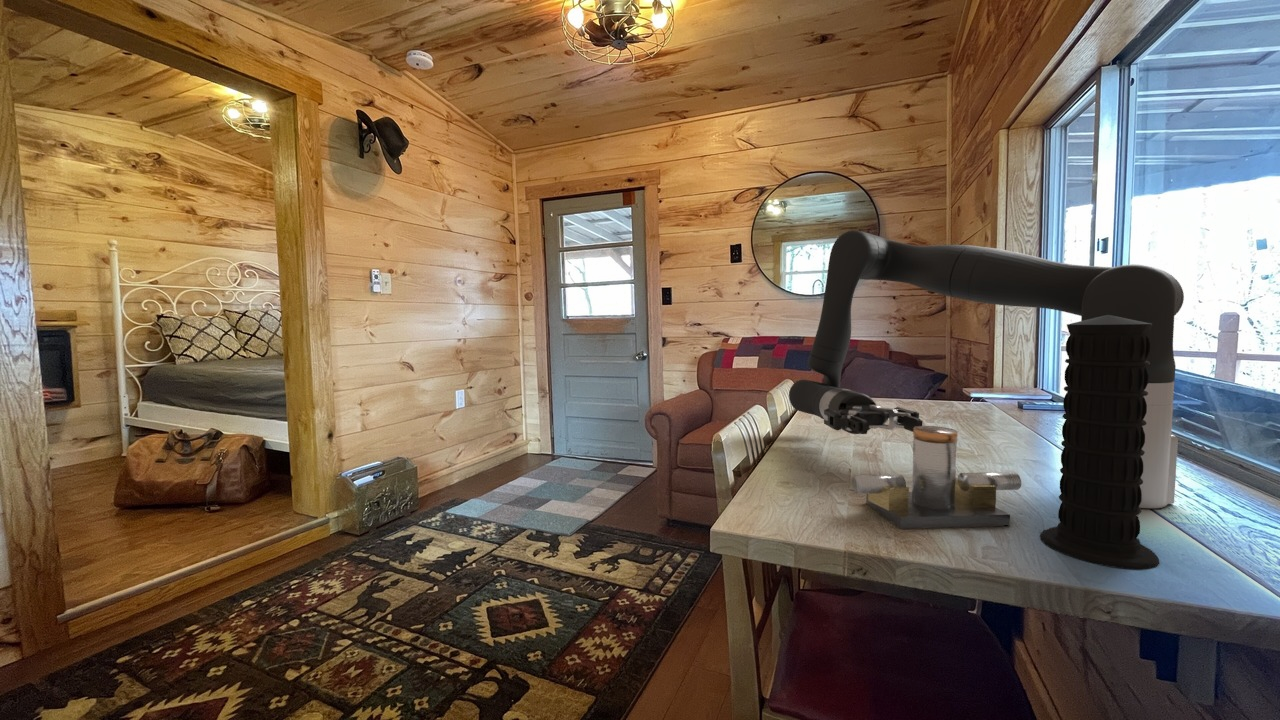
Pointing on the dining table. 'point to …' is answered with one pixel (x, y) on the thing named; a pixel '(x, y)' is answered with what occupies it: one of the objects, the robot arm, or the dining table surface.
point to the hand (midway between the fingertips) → (892, 427)
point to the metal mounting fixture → (969, 511)
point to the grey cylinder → (934, 467)
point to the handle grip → (1103, 444)
